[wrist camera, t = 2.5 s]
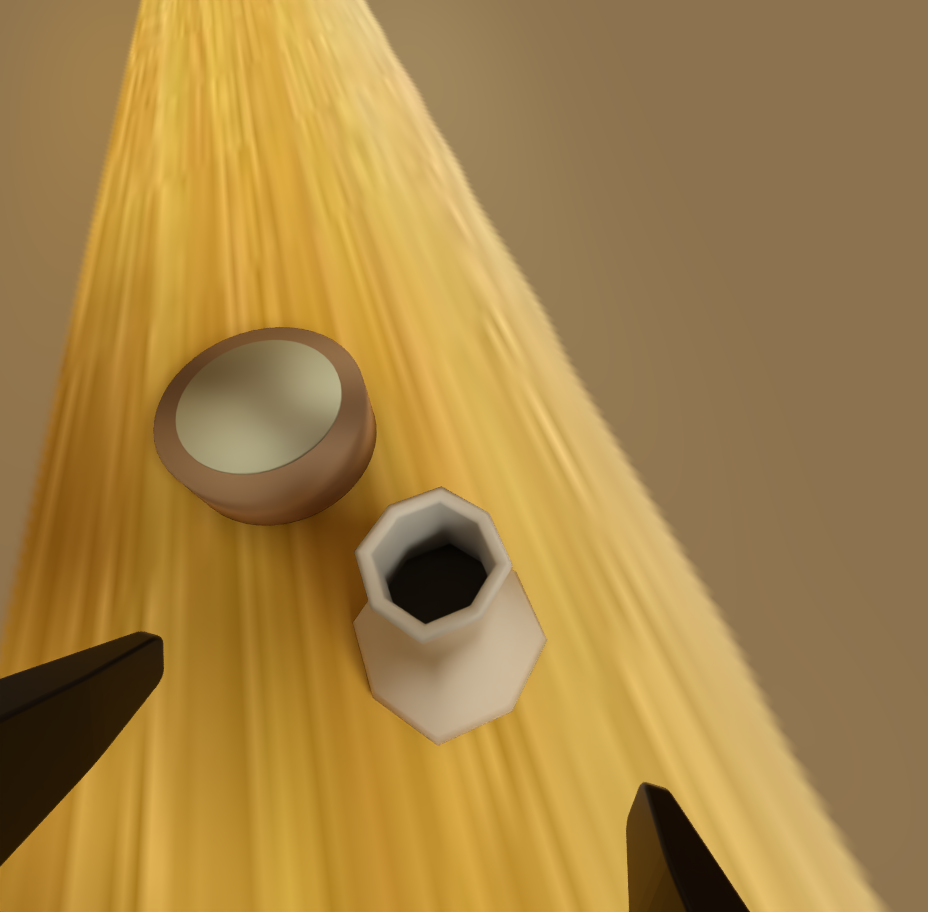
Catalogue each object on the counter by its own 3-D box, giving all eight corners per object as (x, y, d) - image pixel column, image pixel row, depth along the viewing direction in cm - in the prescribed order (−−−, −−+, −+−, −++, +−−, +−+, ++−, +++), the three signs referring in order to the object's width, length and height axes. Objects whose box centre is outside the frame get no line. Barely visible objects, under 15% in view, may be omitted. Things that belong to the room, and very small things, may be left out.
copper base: (339, 544, 20) (319, 516, 18) (154, 503, 21) (106, 471, 19) (398, 383, 25) (389, 340, 22) (241, 355, 26) (213, 311, 23)
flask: (323, 621, 19) (198, 538, 10) (460, 513, 21) (455, 369, 12) (434, 788, 16) (394, 871, 7) (578, 644, 18) (678, 577, 10)
